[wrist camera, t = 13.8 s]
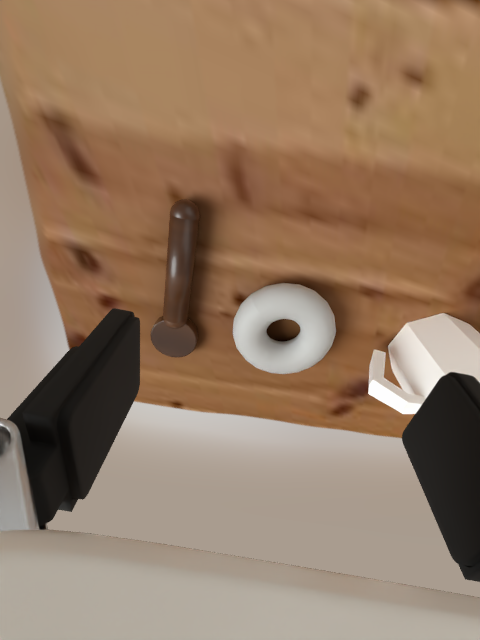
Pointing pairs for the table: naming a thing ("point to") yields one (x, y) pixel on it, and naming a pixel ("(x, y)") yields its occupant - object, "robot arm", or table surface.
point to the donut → (284, 305)
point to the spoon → (178, 284)
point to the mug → (424, 360)
